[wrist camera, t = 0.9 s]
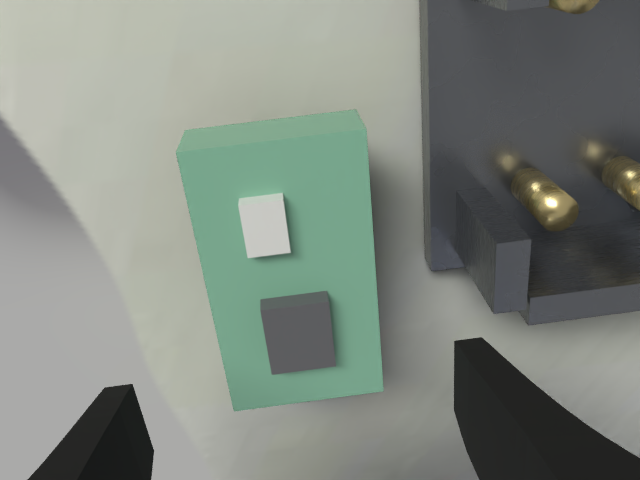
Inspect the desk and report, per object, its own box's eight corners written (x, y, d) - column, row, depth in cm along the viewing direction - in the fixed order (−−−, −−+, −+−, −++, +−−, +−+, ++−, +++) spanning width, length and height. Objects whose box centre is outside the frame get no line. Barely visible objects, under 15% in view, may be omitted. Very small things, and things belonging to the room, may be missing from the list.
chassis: (758, -158, 17) (931, -193, 13) (680, 225, 23) (780, 294, 18) (417, -120, 17) (471, -142, 12) (424, 258, 22) (464, 336, 18)
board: (356, 109, 17) (369, 135, 15) (373, 353, 21) (386, 403, 19) (185, 130, 17) (172, 159, 15) (236, 372, 21) (233, 424, 19)
